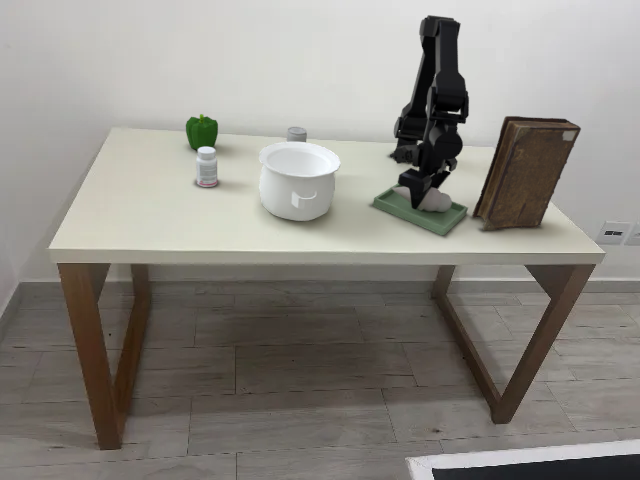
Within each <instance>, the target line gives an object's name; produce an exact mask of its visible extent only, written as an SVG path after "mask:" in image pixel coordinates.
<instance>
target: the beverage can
mask: <svg viewBox="0 0 640 480" xmlns="http://www.w3.org/2000/svg"><path fill="white" fill-rule="evenodd" d="M307 132H308V131H307V129H306V128H304V127H300V126H291V127H288V128H287V132H286V140H285V142H291V141H293V142H306V143H307V137H308V134H307Z"/></svg>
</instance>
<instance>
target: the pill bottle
mask: <svg viewBox="0 0 640 480" xmlns="http://www.w3.org/2000/svg"><path fill="white" fill-rule="evenodd" d="M195 165H196V167H195V168H196V170H195V171H196V184H197V185H198V186H200V187H204V188H212V187H214V186H216V185H217V184H218V157H216V148H214V147H213V148H212V147H200V148H198V151H197V157H196V159H195Z"/></svg>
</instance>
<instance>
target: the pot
mask: <svg viewBox="0 0 640 480" xmlns="http://www.w3.org/2000/svg"><path fill="white" fill-rule="evenodd" d="M258 160H259V162H260V164H262V167H261V171H260V177H259V185H258V186H259V189H258V191H259V195H260V201H261V205H262V206H263V208H265V210H266V211H267V212H269V213H270V214H272V215H274V216H276V217H279V218H281V219H286V220H291V221H295V222H296V221H297V222H308V221H312V220H314V219H317V218H319V217H321V216H323V215H324V214H326V213H328V211H329V208H330V206H331V204H332V202H333V199H334V196H335V191H336V175H335V173H336V172H338V171H339V168H340V167H341V164H342V163H341V160H340V157H339V156H338V155H337V154H336V153H335V152H334V151H332V150H330V149H328V148H326V147H324V146H322V145H319V144H316V143H311V142H307V141H306V142H293V141H291V142H286V141H282V142H281V141H280V142H275V143H271V144H269V145H267V146H264V147H263V148H262V149H261V150H260V152H259V153H258Z"/></svg>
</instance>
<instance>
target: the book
mask: <svg viewBox="0 0 640 480" xmlns="http://www.w3.org/2000/svg"><path fill="white" fill-rule="evenodd" d="M581 130H582V128H581V127H580V126H579V125H578V124H575V123H573V122H571V121H570V120H568V119H566V118H557V117H532V116H531V117H528V116H520V115H505V116H504V119H503V122H502V124H501V127H500V130H499V131H500V133H499V137H498V140H497V143H496V146H495V151H494V153H493V157H492V160H491V163H490V166H489V168H488V171H487V174H486V177H485V180H484V184H483V186H482V189H481V191H480V194H479V195H480V196H479V197H478V201H477V202H476V204H475V207H474V209H473V212H472V215H471V217H472V218H473V219H474V218H482V220H483V221H484V224H483V226H482V230H483V231H497V230H504V229H505V230H507V229H517V228H522V229H523V228H525V229H534V228H535V229H536V228H538V227H540V226H542V225H541V224H542V222H543V221H544V220H543V219H544V216H545V214H546V212H547V209H549V204H550V202H551V199H552V197H553V195H554V194H555V189H556V187H557V185H558V182H559V180H560V179H561V175H562V173H563V171H564V169H565V167H566V165H567V164H568V159H569V158H570V154H571V152H572V150H573V148H574V147H575V143H576V141H577V139H578V137H579V135H580V134H581Z"/></svg>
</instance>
